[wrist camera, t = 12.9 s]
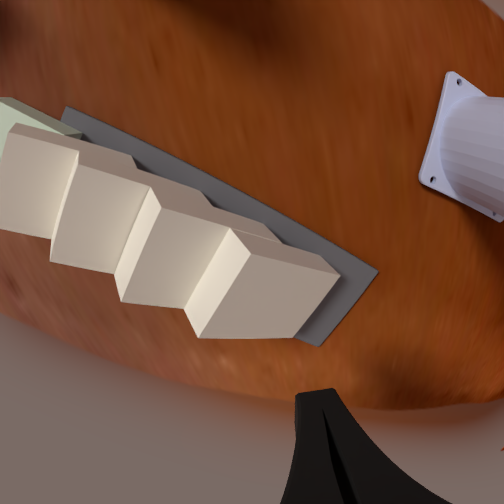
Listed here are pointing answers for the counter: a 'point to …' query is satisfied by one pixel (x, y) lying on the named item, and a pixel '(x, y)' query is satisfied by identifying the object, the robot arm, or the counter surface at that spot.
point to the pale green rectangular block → (29, 120)
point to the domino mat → (235, 201)
